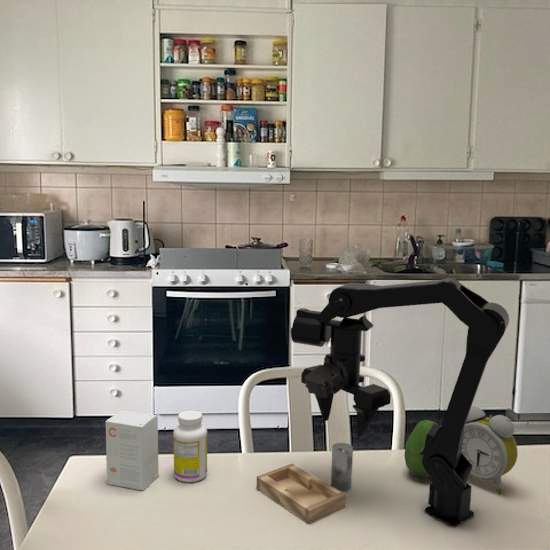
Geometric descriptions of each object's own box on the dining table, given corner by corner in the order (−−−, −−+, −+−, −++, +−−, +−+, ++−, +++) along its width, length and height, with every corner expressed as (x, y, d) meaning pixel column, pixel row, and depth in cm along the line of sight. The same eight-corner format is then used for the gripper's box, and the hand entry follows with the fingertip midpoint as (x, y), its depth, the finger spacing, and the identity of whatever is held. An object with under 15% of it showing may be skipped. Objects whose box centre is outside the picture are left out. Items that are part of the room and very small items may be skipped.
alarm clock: (448, 475, 124) (454, 405, 122) (466, 465, 128) (472, 398, 126) (502, 498, 115) (509, 424, 113) (519, 487, 120) (526, 415, 117)
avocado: (446, 485, 120) (451, 428, 118) (406, 484, 120) (410, 427, 118) (436, 466, 128) (440, 412, 126) (399, 465, 128) (403, 411, 126)
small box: (159, 476, 121) (158, 414, 119) (143, 491, 115) (142, 426, 113) (123, 469, 123) (122, 408, 121) (105, 484, 117) (104, 420, 115)
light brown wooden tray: (345, 507, 111) (345, 494, 111) (308, 523, 105) (309, 510, 105) (291, 474, 123) (292, 463, 122) (256, 488, 117) (256, 476, 116)
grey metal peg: (355, 486, 119) (357, 448, 117) (341, 493, 116) (342, 453, 115) (340, 478, 122) (342, 441, 120) (326, 484, 119) (328, 446, 118)
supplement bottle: (191, 464, 126) (191, 405, 124) (214, 474, 122) (214, 414, 120) (166, 476, 121) (166, 415, 119) (189, 487, 117) (189, 424, 115)
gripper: (281, 345, 116) (279, 422, 119) (351, 370, 102) (347, 457, 105) (323, 336, 123) (320, 409, 126) (394, 359, 109) (390, 441, 112)
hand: (342, 428), depth 117 cm, fingers open, 9 cm apart
